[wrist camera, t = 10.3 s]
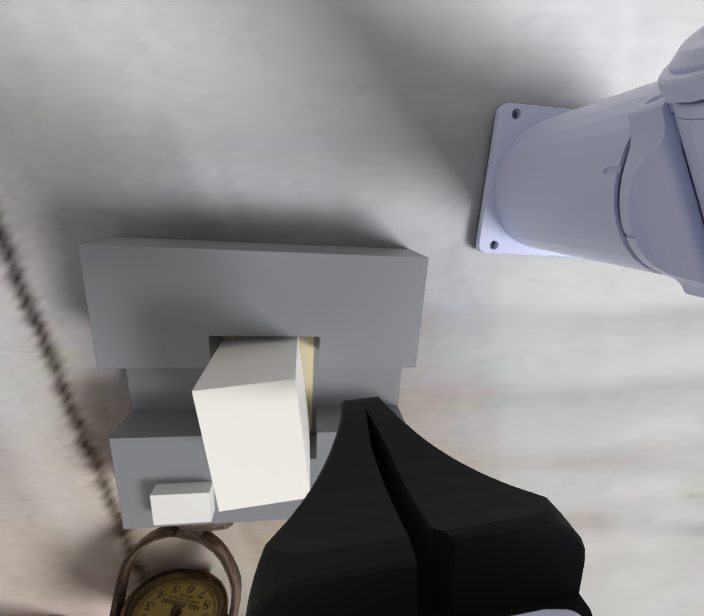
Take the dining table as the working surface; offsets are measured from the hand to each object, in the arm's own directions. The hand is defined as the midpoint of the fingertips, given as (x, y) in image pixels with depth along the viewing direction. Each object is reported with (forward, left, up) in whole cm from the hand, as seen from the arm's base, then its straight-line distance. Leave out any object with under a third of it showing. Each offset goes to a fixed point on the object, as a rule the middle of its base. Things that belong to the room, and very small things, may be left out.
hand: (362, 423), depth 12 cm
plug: (+4, +3, -9) cm, 10 cm away
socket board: (+4, +3, -10) cm, 11 cm away
